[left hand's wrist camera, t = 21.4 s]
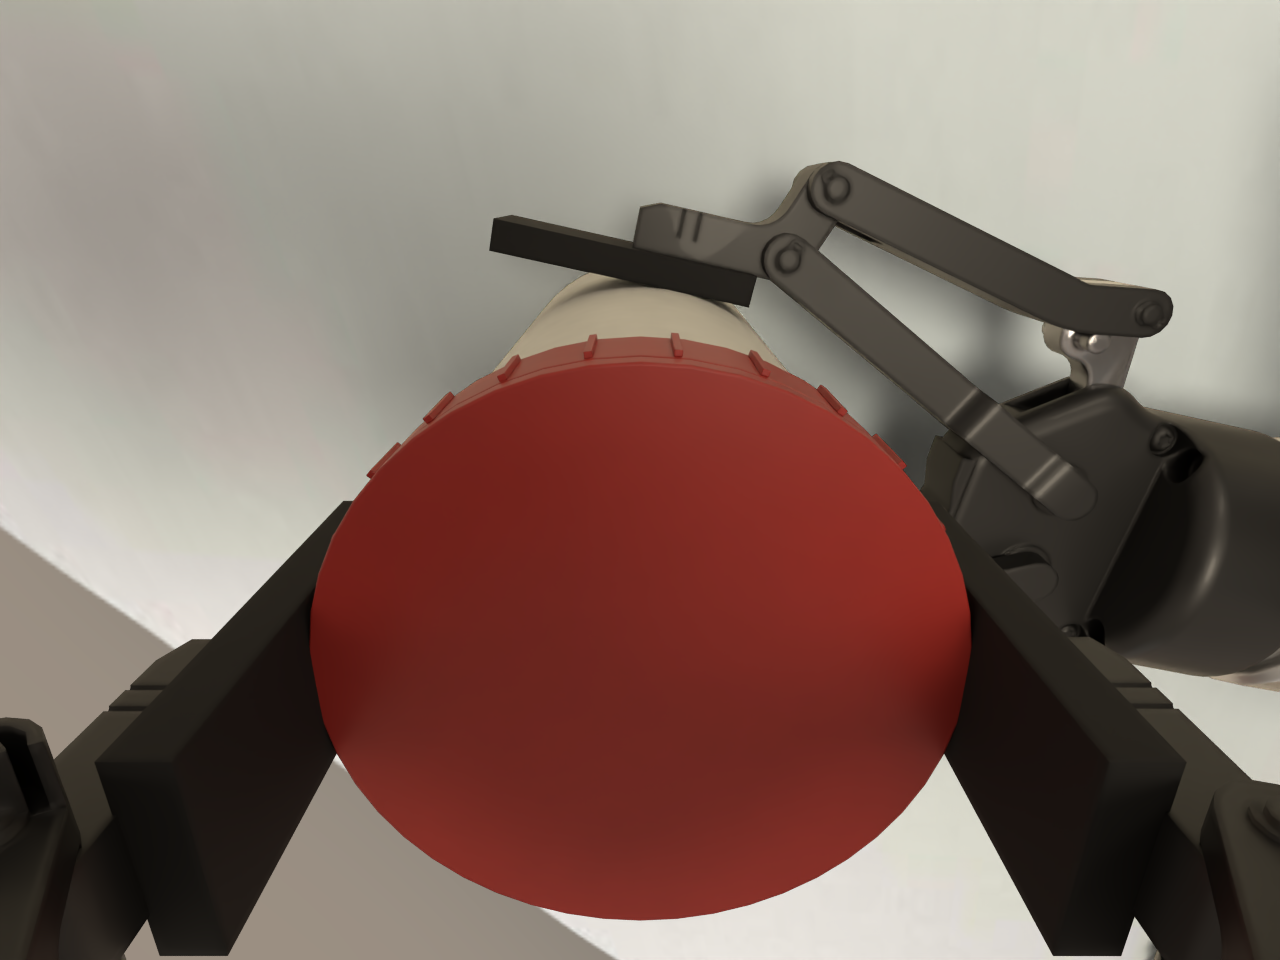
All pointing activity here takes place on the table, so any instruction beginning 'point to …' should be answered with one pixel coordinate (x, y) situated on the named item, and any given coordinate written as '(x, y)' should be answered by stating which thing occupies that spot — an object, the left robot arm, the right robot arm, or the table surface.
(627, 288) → the jar
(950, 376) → the right robot arm
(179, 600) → the table surface
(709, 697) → the lid
